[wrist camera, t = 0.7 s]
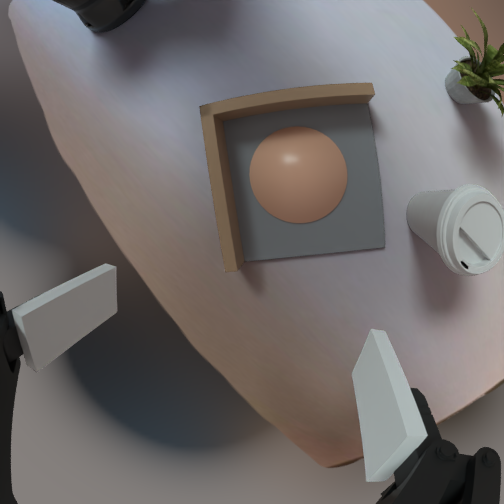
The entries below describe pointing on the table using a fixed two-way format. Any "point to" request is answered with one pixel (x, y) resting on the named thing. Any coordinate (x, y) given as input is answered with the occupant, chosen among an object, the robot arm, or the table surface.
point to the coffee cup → (460, 227)
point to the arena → (294, 173)
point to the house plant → (476, 73)
